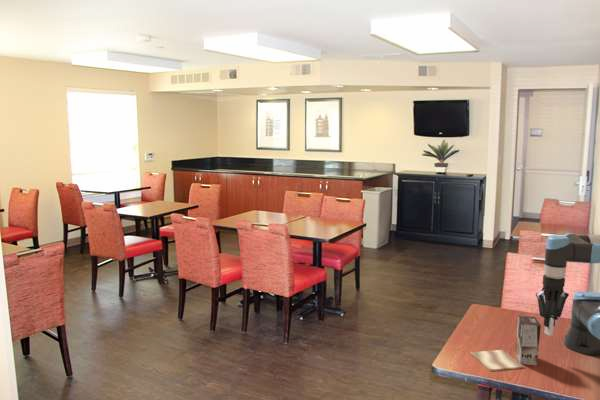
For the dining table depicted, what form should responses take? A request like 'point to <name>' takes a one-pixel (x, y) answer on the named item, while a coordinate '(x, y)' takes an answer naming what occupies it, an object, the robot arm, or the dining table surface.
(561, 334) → the dining table surface
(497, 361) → the beige board
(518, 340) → the coffee box
